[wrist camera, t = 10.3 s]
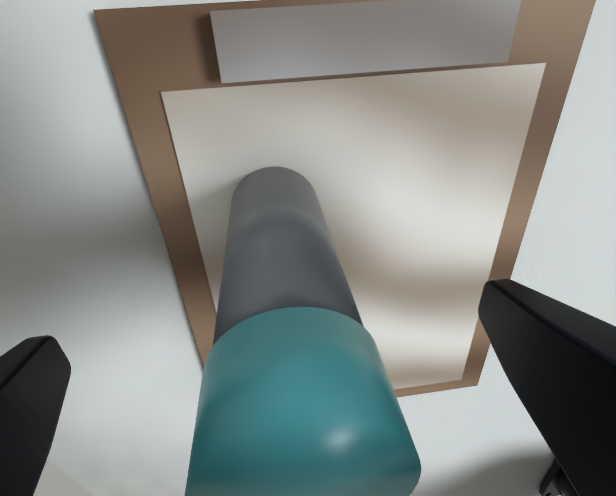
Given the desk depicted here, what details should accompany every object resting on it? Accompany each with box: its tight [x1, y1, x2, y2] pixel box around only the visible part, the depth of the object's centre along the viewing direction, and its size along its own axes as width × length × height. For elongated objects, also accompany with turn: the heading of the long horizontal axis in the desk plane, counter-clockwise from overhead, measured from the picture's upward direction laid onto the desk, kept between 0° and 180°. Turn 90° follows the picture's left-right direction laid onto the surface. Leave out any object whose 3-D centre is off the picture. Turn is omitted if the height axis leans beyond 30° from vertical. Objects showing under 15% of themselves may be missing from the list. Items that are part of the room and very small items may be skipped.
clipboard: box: [93, 0, 596, 397], centre depth 14 cm, size 18×14×2 cm
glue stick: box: [185, 167, 421, 496], centre depth 9 cm, size 3×3×9 cm
